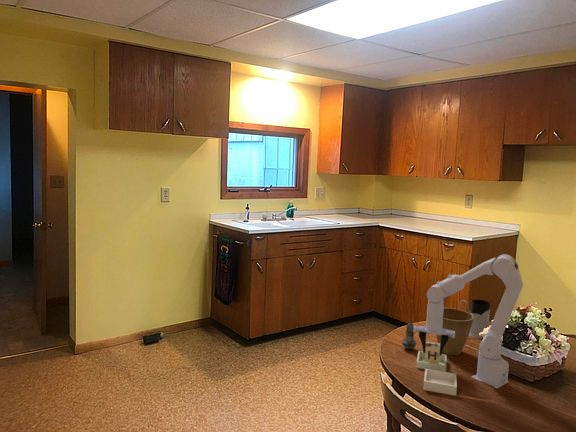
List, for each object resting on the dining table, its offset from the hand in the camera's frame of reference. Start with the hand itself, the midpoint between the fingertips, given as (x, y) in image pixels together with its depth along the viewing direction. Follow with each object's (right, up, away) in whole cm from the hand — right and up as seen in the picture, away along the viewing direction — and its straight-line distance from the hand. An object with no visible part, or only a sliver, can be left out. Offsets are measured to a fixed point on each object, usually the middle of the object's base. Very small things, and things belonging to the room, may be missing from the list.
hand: (432, 353), depth 171 cm
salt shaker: (-5, -3, +15) cm, 16 cm away
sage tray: (0, -5, +1) cm, 5 cm away
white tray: (-2, -7, -15) cm, 16 cm away
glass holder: (+29, -2, +36) cm, 46 cm away
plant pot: (+11, -4, +13) cm, 18 cm away
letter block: (0, -3, 0) cm, 3 cm away
